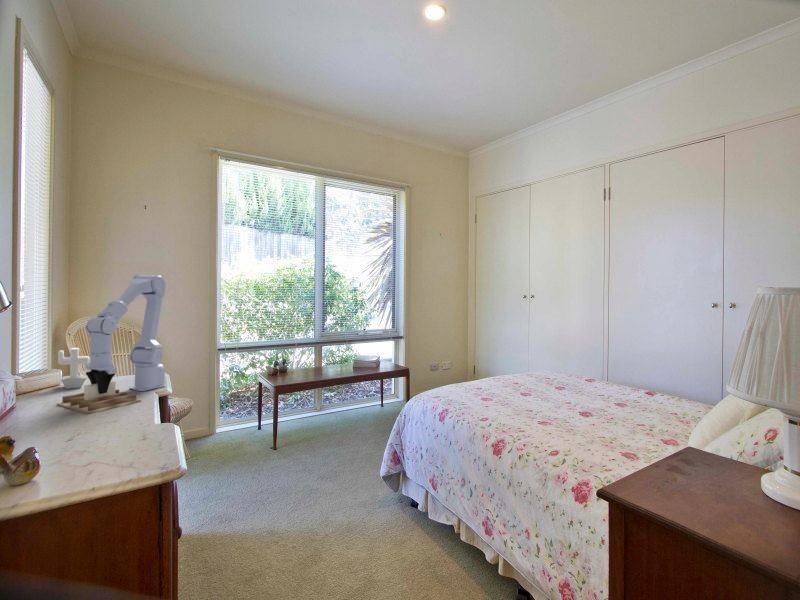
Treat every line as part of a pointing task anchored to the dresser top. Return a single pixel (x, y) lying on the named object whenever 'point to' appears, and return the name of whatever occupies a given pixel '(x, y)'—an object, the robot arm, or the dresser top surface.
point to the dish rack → (97, 402)
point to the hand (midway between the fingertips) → (100, 392)
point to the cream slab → (92, 391)
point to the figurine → (73, 368)
